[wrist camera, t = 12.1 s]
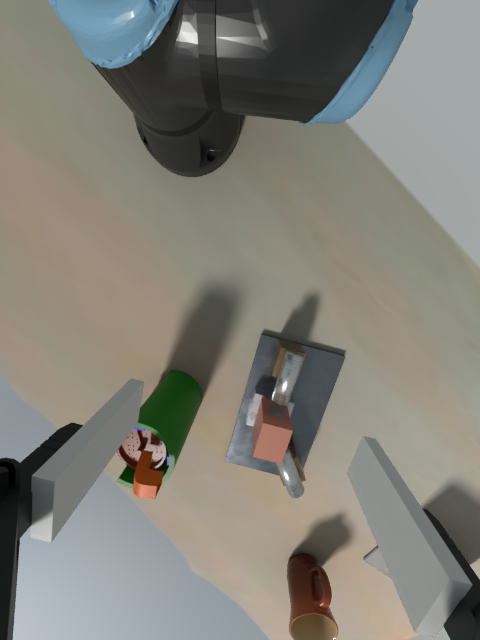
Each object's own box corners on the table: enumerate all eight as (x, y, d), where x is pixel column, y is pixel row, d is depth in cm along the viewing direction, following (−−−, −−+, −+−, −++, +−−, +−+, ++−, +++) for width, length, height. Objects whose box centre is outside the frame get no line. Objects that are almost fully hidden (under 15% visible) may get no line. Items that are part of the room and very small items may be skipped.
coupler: (262, 394, 43) (264, 419, 36) (287, 401, 43) (294, 427, 36) (252, 429, 45) (251, 459, 38) (276, 436, 45) (280, 467, 38)
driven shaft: (267, 432, 47) (270, 461, 40) (288, 426, 47) (294, 455, 40) (281, 466, 49) (285, 500, 42) (301, 460, 48) (309, 494, 41)
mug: (312, 583, 56) (325, 653, 46) (276, 571, 56) (281, 638, 46) (336, 546, 53) (355, 611, 43) (298, 532, 53) (308, 595, 43)
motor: (154, 369, 47) (82, 445, 27) (201, 371, 46) (162, 450, 27) (157, 417, 49) (92, 519, 29) (202, 420, 48) (166, 525, 29)
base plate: (261, 333, 44) (263, 348, 36) (343, 355, 44) (363, 374, 36) (225, 458, 50) (220, 494, 42) (297, 477, 50) (306, 517, 42)
